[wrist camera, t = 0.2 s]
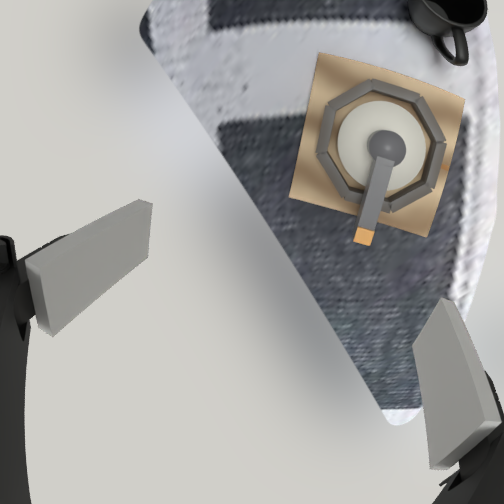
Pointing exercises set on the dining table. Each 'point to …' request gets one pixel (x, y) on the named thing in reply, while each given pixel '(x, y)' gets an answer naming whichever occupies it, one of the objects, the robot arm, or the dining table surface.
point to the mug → (448, 23)
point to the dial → (379, 156)
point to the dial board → (327, 129)
